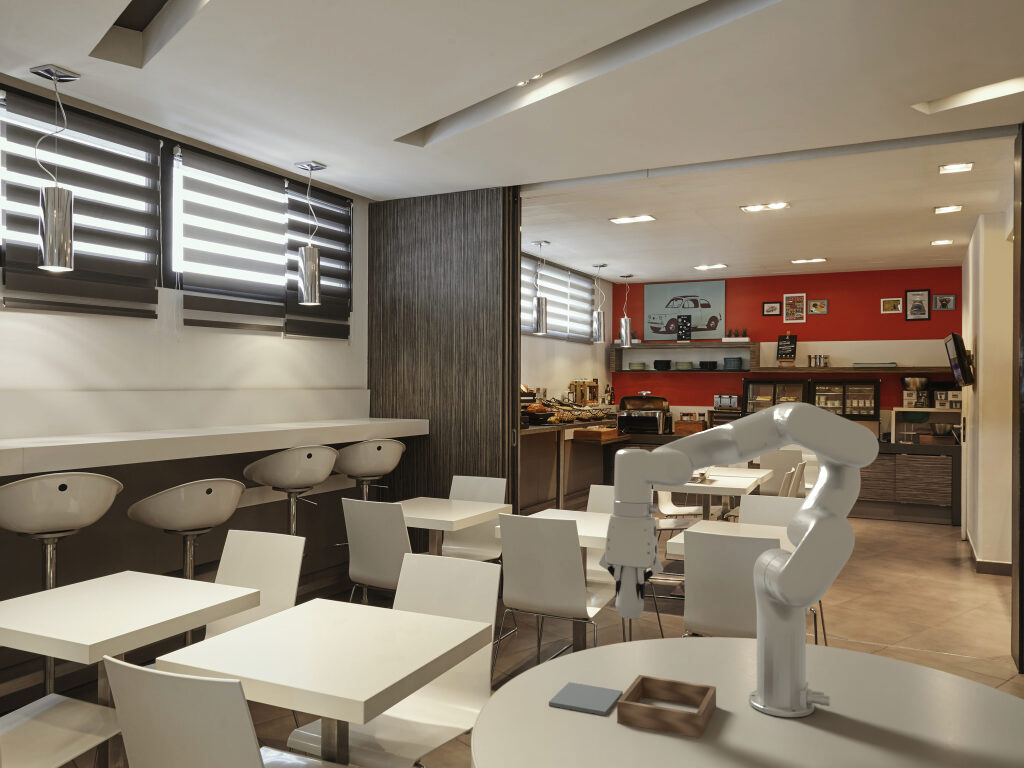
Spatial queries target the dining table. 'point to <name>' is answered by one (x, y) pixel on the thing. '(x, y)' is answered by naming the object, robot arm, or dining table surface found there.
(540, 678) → the dining table surface
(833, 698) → the dining table surface
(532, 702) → the dining table surface
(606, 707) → the mat
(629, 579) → the salt shaker
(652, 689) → the bin
